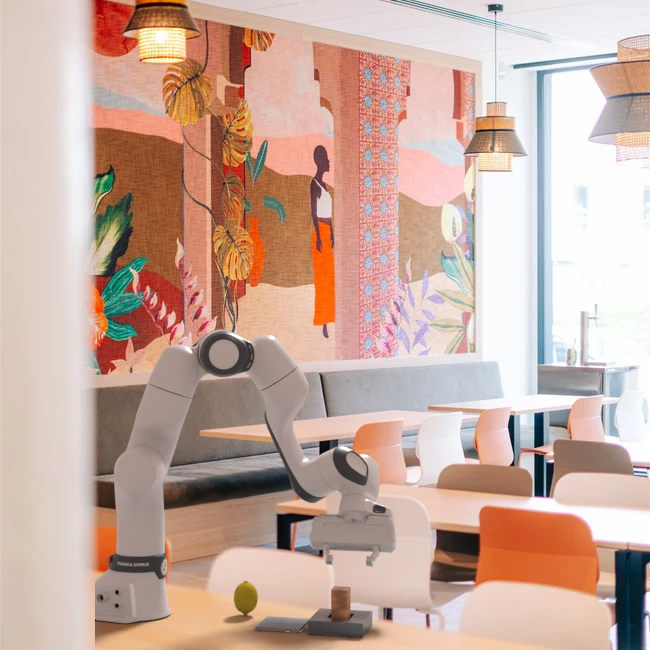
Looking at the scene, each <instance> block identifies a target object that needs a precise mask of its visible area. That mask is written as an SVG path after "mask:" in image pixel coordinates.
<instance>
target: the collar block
mask: <svg viewBox="0 0 650 650" xmlns="http://www.w3.org/2000/svg"><path fill="white" fill-rule="evenodd" d="M308 619H309V620H308V625H307V635H308V634H315V635H314V636H324V635H327V636H326V637H340V638H341V637H342V638H343V637H344V638H358V639H359V638H361V639H363V638H364V637H365V635H366V634H367V633H368V631H369V630H370V628H371V627H372V626H373V610H359V609H358V610H357V609H355V610H354V609H350V619H340V618H331V608H321V607H320V608H319V609H317V611H315V613H314V614H312V616H311V617H310V618H308Z"/></svg>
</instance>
